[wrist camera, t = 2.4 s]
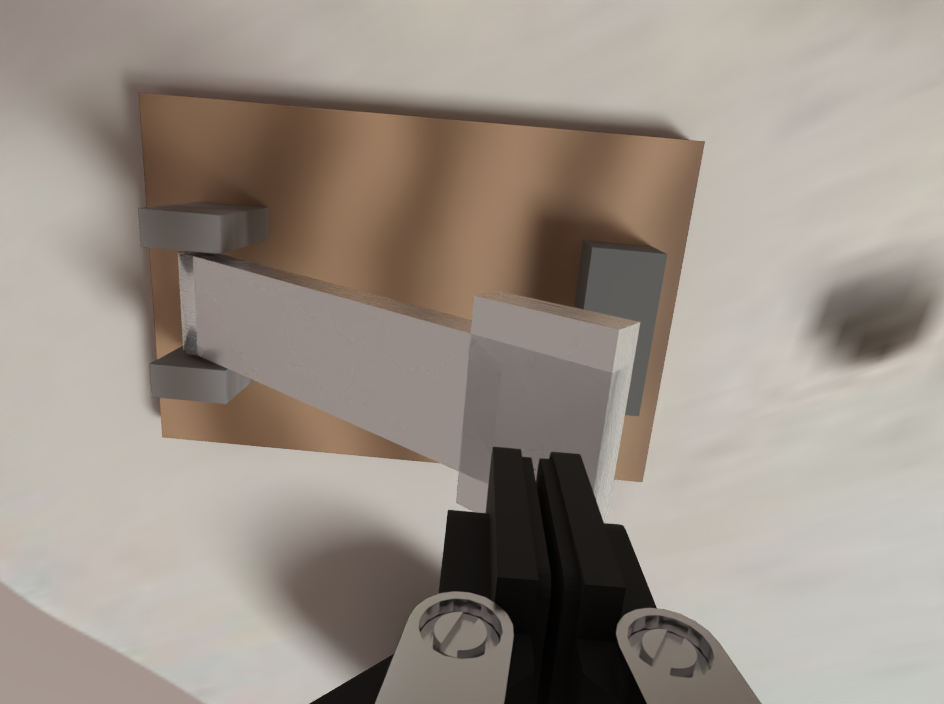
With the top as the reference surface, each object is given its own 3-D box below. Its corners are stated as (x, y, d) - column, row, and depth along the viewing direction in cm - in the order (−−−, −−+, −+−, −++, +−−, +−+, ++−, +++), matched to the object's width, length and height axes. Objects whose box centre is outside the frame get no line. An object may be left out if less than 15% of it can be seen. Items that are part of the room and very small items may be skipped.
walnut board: (693, 142, 27) (752, 134, 21) (635, 467, 32) (669, 540, 25) (157, 96, 27) (57, 74, 21) (177, 425, 32) (100, 486, 26)
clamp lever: (643, 320, 14) (615, 331, 13) (606, 540, 16) (578, 567, 15) (206, 224, 25) (167, 225, 24) (212, 363, 27) (176, 371, 25)
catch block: (650, 246, 27) (667, 254, 24) (626, 394, 29) (639, 416, 26) (582, 240, 27) (592, 247, 24) (563, 388, 29) (569, 410, 26)
